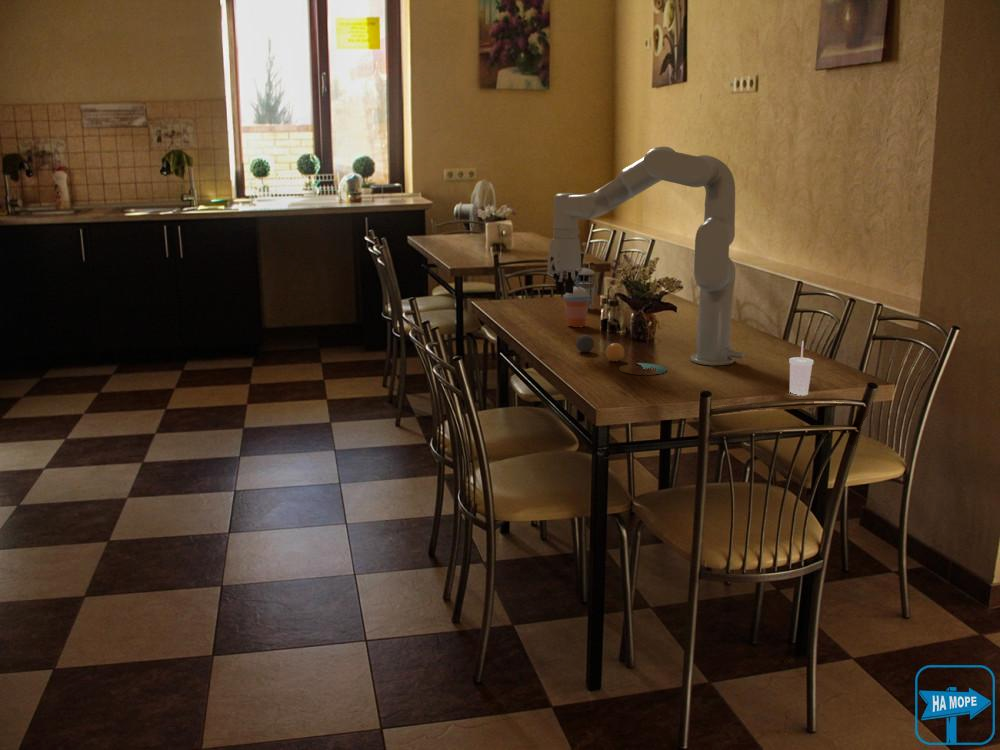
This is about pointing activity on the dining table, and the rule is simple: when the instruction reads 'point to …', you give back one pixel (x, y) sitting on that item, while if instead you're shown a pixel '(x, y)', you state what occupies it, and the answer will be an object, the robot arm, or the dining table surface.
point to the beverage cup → (800, 374)
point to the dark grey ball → (585, 343)
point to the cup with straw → (576, 306)
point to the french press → (585, 284)
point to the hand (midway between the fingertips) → (564, 292)
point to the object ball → (615, 352)
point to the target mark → (658, 368)
